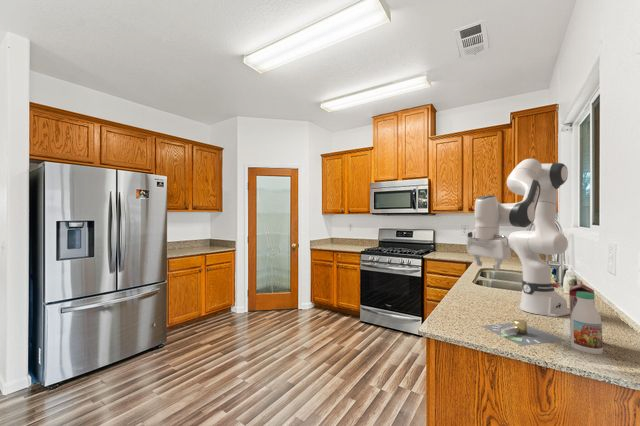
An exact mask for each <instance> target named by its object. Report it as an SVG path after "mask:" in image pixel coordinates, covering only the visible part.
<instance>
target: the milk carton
mask: <svg viewBox="0 0 640 426" xmlns="http://www.w3.org/2000/svg"><path fill="white" fill-rule="evenodd" d="M580 291H581V292H589V293H593V294H594V295H595V290H594V288H591V287H588V286H586V285H585V284H583V281H582V280H580V283H579V284H577V285H573V286H571V287H569V309H570V314H569V315H570V316H569V321H570V322H569V325H570V331H571V314H572V311H573V309H574V307H575V306H576V303H577V298H576V297H577V296H576V292H580ZM594 305H596V304H595V303H594Z"/></svg>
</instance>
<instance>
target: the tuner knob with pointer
mask: <svg viewBox="0 0 640 426" xmlns="http://www.w3.org/2000/svg"><path fill="white" fill-rule="evenodd" d="M512 323H513V327H508V328H504V329H501V333H502V334H508V333H512V332H516V333H519V334H527V325H528V322H527V321H525V320H524V319H523V320H522V319H513V321H512Z"/></svg>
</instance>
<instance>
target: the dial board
mask: <svg viewBox="0 0 640 426" xmlns="http://www.w3.org/2000/svg"><path fill="white" fill-rule="evenodd" d="M481 327H482V328H484V329H486V330H489V331H490V332H492V333H493V334H496V335H498V336H500V337H502V338H504V339H506V340H508V341H511V342H513V343H514V344H516V345H518V346H521V347H523V346H534V345H541V344H549V343H557V342H566V339H563V338H560V337H557V336H556V335H553V334H550V333H547V332H545V331H543V330H541V329H538V328H536V327H533V326H530V325H528V324H527V334H519V333H516V332H512V333H508V334H502V333H501V329H504V328H508V327H513V322H508V323H507V322H506V323H497V324H496V323H495V324H488V325H487V324H486V325H481Z"/></svg>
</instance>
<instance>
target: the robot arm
mask: <svg viewBox="0 0 640 426" xmlns="http://www.w3.org/2000/svg"><path fill="white" fill-rule="evenodd" d="M568 175H569V169H568V167H567V165H565V164H564V163H562V162H553V163H551V162H550V163H547V162H546V163H541V162H540V161H539V160H538V159H535V158H526V159H523V160H522V161H521V162H519V163H518V164H517V165H516V166H515V167H514V168H513V170H511V172H510V173H509V174H508V176H507V179H506V185H507V188H508V190H509V191H510V192H512V193H513V194H515V195H518V196H523V198H522V200H521V201H519V202H509V203H507V202H506V203H501V202H499V201H498V197H497V195H492V194H491V195H489V194H488V195H483V196H481V195H480V196H478V197H477V198H476V199H475V202H474V220H475V224H474V229H473V230H471V231H468V232H466V235H465V236H466V238H467V239H466V252H467V254H468V255H473V258H474V260H475V265H476V266H478V267H482V266H483V261H481V257H485V258H491V259H494V260H495V264H493V265H492V267H493V268H492V269H493V270H496V271H500V270H501V264H502V263H503V260H511V257H512V253H511V250H513V252H515V254H516V255H517V256H518V258H519V261H520V263H521V269H522V280H521V287H522V290H521V297H520V303H519V309H520V310H521V311H524V312H525V313H526V312H527V313H530V314H535V315H540V316H548V317H549V316H550V317H553V318H558V317H563V316H567V315H570V307H568V301H567V299H566V298H565V297H564V296H562V295H561V294H560V293H558V292H557V291H556V290H555V288H556V289H559V287H560V285H559V283H555V282H552V269H551V266H550V265H549V264H548V263H547V262H546V261H544V260H543V259H542V258H541V256H540V255H549V256H551V255H562V254H564V253H565V252H566V250H568V247H569V241H568V238H567V237H566V236H565V235H564V234H563V233H562V232H560V231H559V229H558V227H557V226H556V220H555V219H556V209H557V205H558V189H559V188H560V187H561V186H562V185H564V184H565V183H566V181H567V180H568V177H569V176H568ZM532 224H533V225H534V227H535V230H518V231H517V230H516V231H513V232H511V233H510V234H509V235H508V237H507V236H506V235H500V227H516V228H528V227H529V226H530V225H532Z"/></svg>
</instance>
